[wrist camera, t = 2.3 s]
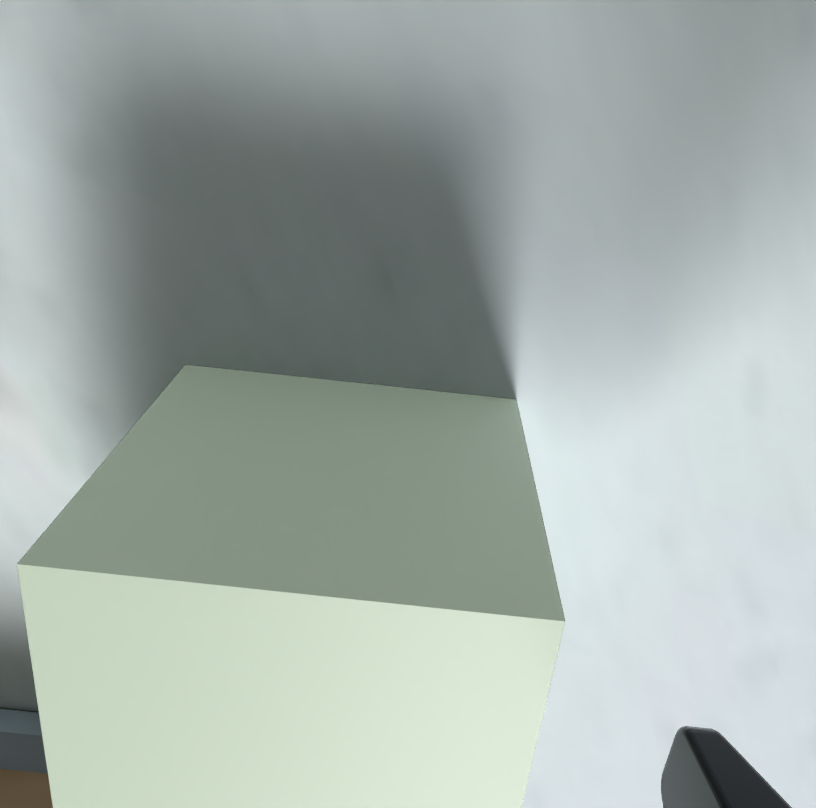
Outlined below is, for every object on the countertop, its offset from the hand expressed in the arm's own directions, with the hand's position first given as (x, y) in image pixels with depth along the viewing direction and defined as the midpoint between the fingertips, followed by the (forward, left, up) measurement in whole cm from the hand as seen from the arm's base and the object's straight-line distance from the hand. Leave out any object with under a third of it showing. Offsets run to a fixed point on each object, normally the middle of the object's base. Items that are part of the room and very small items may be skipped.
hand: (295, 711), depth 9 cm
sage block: (0, 0, -4) cm, 4 cm away
